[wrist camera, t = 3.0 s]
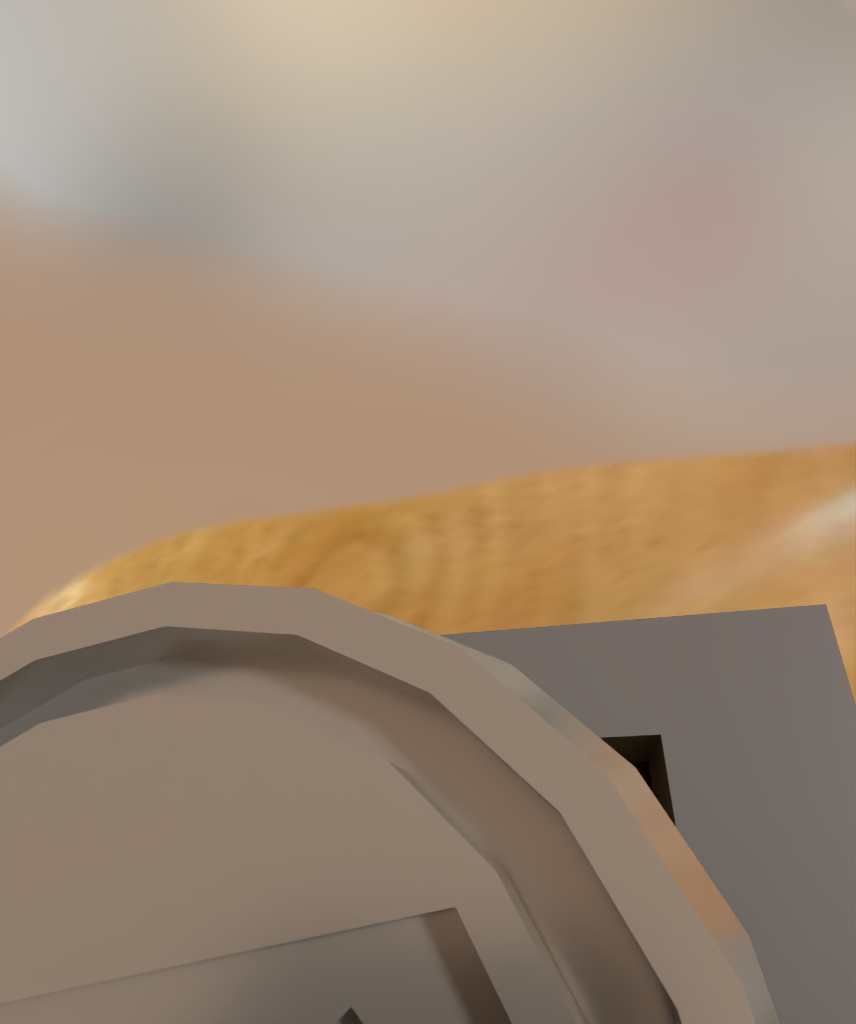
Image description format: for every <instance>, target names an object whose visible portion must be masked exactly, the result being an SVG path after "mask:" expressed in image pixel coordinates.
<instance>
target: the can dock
mask: <svg viewBox="0 0 856 1024" xmlns="http://www.w3.org/2000/svg"><path fill="white" fill-rule="evenodd" d="M440 636H442V637H445V638H447V639H450V640H452V641H455V642H457V643H460V644H462V645H465V646H467V647H470V648H472V649H475V650H477V651H480V652H482V653H485V654H487V655H490V656H492V657H495V658H497V659H500V660H502V661H505V662H507V663H510V664H512V665H513V666H514V667H515V668H516V669H518V670H519V671H520V672H521V673H522V674H524V675H525V676H526V677H527V678H528V679H530V680H531V681H532V682H533V683H534V684H536V685H537V686H538V687H539V688H540V689H542V690H543V691H544V692H545V693H547V694H548V695H549V696H550V697H551V698H553V699H554V700H555V701H556V702H557V703H559V704H560V705H561V706H562V707H563V708H565V709H566V710H567V711H568V712H569V713H571V714H572V715H573V716H574V717H575V718H577V719H578V720H579V721H580V722H581V723H583V724H584V725H585V726H586V727H587V728H589V729H590V730H591V731H592V732H593V733H595V734H596V735H597V736H598V737H599V738H601V739H602V740H603V741H604V742H605V743H607V744H608V745H609V746H610V747H611V748H613V749H614V750H615V751H616V752H617V753H619V754H620V755H621V756H622V757H623V758H625V759H626V760H627V761H628V762H629V763H637V762H649V769H650V775H651V782H652V788H653V794H654V796H655V797H656V799H657V800H658V801H659V803H660V804H661V806H662V807H663V809H664V810H665V812H666V813H667V815H668V816H669V818H670V819H671V821H672V822H673V824H674V825H675V827H676V828H677V830H678V831H679V833H680V834H681V836H682V837H683V839H684V840H685V841H686V843H687V844H688V846H689V847H690V849H691V850H692V852H693V853H694V855H695V856H696V858H697V859H698V861H699V862H700V864H701V865H702V867H703V868H704V870H705V871H706V873H707V874H708V876H709V877H710V879H711V880H712V881H713V883H714V884H715V886H716V887H717V889H718V890H719V892H720V893H721V895H722V896H723V898H724V899H725V901H726V902H727V904H728V905H729V907H730V908H731V910H732V911H733V913H734V914H735V916H736V917H737V919H738V920H739V921H740V923H741V924H742V926H743V927H744V929H745V930H746V932H747V933H748V935H749V937H750V940H751V943H752V946H753V948H754V951H755V954H756V957H757V960H758V963H759V965H760V968H761V971H762V974H763V977H764V980H765V982H766V985H767V988H768V991H769V994H770V997H771V999H772V1002H773V1005H774V1008H775V1011H776V1014H777V1017H778V1019H779V1022H780V1024H856V705H855V701H854V698H853V695H852V691H851V688H850V684H849V681H848V678H847V674H846V671H845V667H844V664H843V661H842V657H841V654H840V650H839V647H838V644H837V640H836V637H835V633H834V630H833V627H832V623H831V620H830V616H829V613H828V610H827V606H826V604H823V605H811V606H798V607H786V608H773V609H761V610H748V611H736V612H723V613H711V614H698V615H686V616H673V617H661V618H648V619H636V620H623V621H611V622H598V623H586V624H573V625H561V626H548V627H536V628H523V629H511V630H498V631H486V632H473V633H461V634H448V635H440Z"/></svg>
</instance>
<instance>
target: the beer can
mask: <svg viewBox="0 0 856 1024" xmlns="http://www.w3.org/2000/svg"><path fill="white" fill-rule="evenodd" d="M0 1024H780V1022H779V1019H778V1017H777V1014H776V1011H775V1008H774V1005H773V1002H772V999H771V997H770V994H769V991H768V988H767V985H766V982H765V980H764V977H763V974H762V971H761V968H760V965H759V963H758V960H757V957H756V954H755V951H754V948H753V946H752V943H751V940H750V937H749V935H748V933H747V932H746V930H745V929H744V927H743V926H742V924H741V923H740V921H739V920H738V919H737V917H736V916H735V914H734V913H733V911H732V910H731V908H730V907H729V905H728V904H727V902H726V901H725V899H724V898H723V896H722V895H721V893H720V892H719V890H718V889H717V887H716V886H715V884H714V883H713V881H712V880H711V879H710V877H709V876H708V874H707V873H706V871H705V870H704V868H703V867H702V865H701V864H700V862H699V861H698V859H697V858H696V856H695V855H694V853H693V852H692V850H691V849H690V847H689V846H688V844H687V843H686V841H685V840H684V839H683V837H682V836H681V834H680V833H679V831H678V830H677V828H676V827H675V825H674V824H673V822H672V821H671V819H670V818H669V816H668V815H667V813H666V812H665V810H664V809H663V807H662V806H661V804H660V803H659V801H658V800H657V799H656V797H655V796H654V794H653V793H652V791H651V790H650V788H649V787H648V785H647V784H646V782H645V781H644V779H643V778H642V776H641V775H640V773H639V772H638V770H637V769H636V768H635V767H634V766H633V765H632V764H631V763H629V762H628V761H627V760H626V759H625V758H623V757H622V756H621V755H620V754H619V753H617V752H616V751H615V750H614V749H613V748H611V747H610V746H609V745H608V744H607V743H605V742H604V741H603V740H602V739H601V738H599V737H598V736H597V735H596V734H595V733H593V732H592V731H591V730H590V729H589V728H587V727H586V726H585V725H584V724H583V723H581V722H580V721H579V720H578V719H577V718H575V717H574V716H573V715H572V714H571V713H569V712H568V711H567V710H566V709H565V708H563V707H562V706H561V705H560V704H559V703H557V702H556V701H555V700H554V699H553V698H551V697H550V696H549V695H548V694H547V693H545V692H544V691H543V690H542V689H540V688H539V687H538V686H537V685H536V684H534V683H533V682H532V681H531V680H530V679H528V678H527V677H526V676H525V675H524V674H522V673H521V672H520V671H519V670H518V669H516V668H515V667H514V666H513V665H512V664H510V663H507V662H505V661H502V660H500V659H497V658H495V657H492V656H490V655H487V654H485V653H482V652H480V651H477V650H475V649H472V648H470V647H467V646H465V645H462V644H460V643H457V642H455V641H452V640H450V639H447V638H445V637H442V636H440V635H437V634H435V633H432V632H430V631H427V630H425V629H422V628H420V627H417V626H415V625H412V624H410V623H407V622H405V621H402V620H400V619H397V618H395V617H392V616H390V615H387V614H385V613H373V612H371V611H368V610H366V609H363V608H361V607H358V606H356V605H353V604H351V603H348V602H346V601H343V600H341V599H338V598H336V597H334V596H331V595H329V594H326V593H324V592H321V591H319V590H316V589H309V588H289V587H268V586H247V585H226V584H205V583H184V582H170V583H166V584H162V585H158V586H155V587H151V588H147V589H143V590H140V591H136V592H132V593H128V594H125V595H121V596H117V597H114V598H110V599H106V600H102V601H99V602H95V603H91V604H87V605H84V606H80V607H76V608H72V609H69V610H65V611H61V612H58V613H54V614H50V615H46V616H43V617H39V618H35V619H32V620H30V621H29V622H27V623H25V624H24V625H22V626H20V627H18V628H17V629H15V630H13V631H11V632H10V633H8V634H6V635H5V636H3V637H1V638H0Z"/></svg>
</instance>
